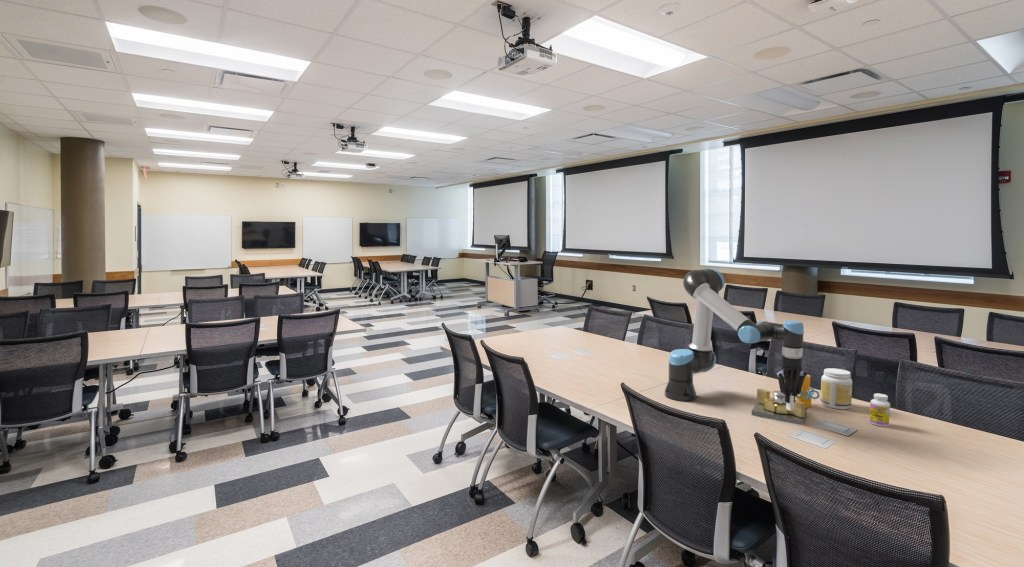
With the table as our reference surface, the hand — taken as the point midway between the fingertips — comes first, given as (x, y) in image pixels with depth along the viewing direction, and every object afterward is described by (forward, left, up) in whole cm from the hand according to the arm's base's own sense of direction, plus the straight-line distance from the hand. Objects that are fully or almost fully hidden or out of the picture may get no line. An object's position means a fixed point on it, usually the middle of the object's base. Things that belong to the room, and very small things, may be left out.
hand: (789, 409), depth 203 cm
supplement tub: (+15, +35, -6) cm, 39 cm away
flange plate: (-5, +8, -6) cm, 11 cm away
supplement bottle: (+31, +19, -6) cm, 37 cm away
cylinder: (+3, +26, -6) cm, 27 cm away
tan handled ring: (-5, +8, -3) cm, 10 cm away
